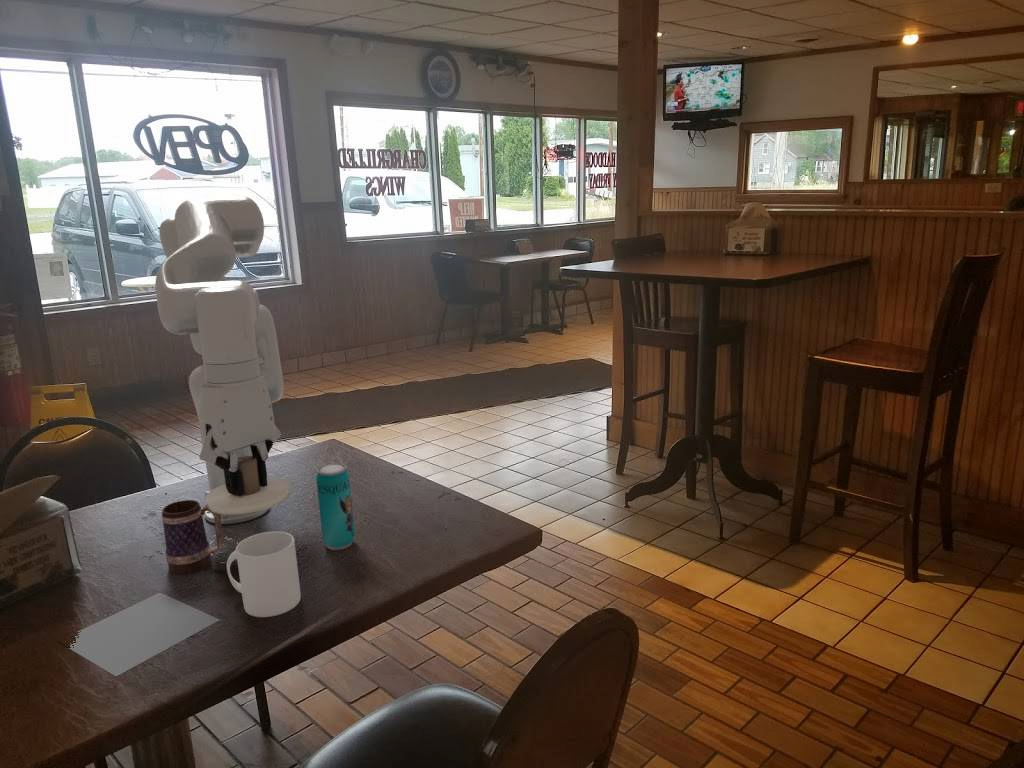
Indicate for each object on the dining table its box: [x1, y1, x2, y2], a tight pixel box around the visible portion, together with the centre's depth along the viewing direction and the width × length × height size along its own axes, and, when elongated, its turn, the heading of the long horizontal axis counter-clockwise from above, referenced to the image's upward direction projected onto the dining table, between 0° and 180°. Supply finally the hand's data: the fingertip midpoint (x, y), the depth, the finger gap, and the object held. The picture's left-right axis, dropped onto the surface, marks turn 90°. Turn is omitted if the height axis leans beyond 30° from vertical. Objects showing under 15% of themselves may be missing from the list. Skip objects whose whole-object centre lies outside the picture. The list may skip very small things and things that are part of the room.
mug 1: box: [161, 499, 225, 576], centre depth 129 cm, size 10×7×12 cm
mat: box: [68, 592, 221, 678], centre depth 111 cm, size 16×16×1 cm
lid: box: [205, 456, 291, 515], centre depth 112 cm, size 12×12×6 cm
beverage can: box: [315, 462, 355, 551], centre depth 135 cm, size 6×6×15 cm
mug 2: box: [226, 531, 302, 618], centre depth 116 cm, size 9×12×11 cm
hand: (247, 488), depth 113 cm, fingers closed on lid, 3 cm apart
